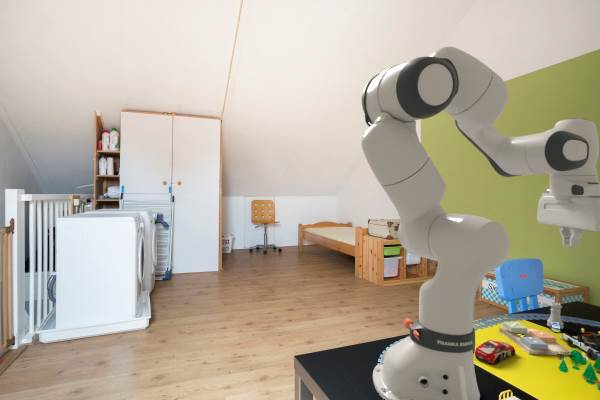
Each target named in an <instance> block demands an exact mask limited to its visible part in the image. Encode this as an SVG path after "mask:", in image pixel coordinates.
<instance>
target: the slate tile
mask: <svg viewBox="0 0 600 400" xmlns="http://www.w3.org/2000/svg"><path fill="white" fill-rule="evenodd" d="M520 342H522V343H523V344H525V345H526V346H527V347H529V348H530V349H546V350H548V344H547V343H545V342H543V341H542V340H540V339H539V338H537V337H520Z"/></svg>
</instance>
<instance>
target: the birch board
mask: <svg viewBox="0 0 600 400" xmlns="http://www.w3.org/2000/svg"><path fill="white" fill-rule="evenodd" d="M498 331H499V332H500V333H501V334H503V335H504V336H505V337H506V338H508V339H509V340H510V341H511V342H513V343H515V344H516V345H517V346H518V347H520V348H521V349H522V350H523V351H524V352H527V354H529V355H549V356H550V355H551V356H558V355H557V354H558V352H560V351H562V352H563V353H564V355H563V356H568V355H569V353H570V352H572V351H571V350H569V349H568V348H567V347H564V346H563V345H561V344H560V343H558V342H557V341H556V343H547V342H545V343H547V344H548V350H546V349H530V348H529V347H527V346H526V345H525V344H523V343H522V342H520V337H518V336H517V334H524V335H525V336H526V337H531V336H530V335H529V331H539V330H538V329H535V328H527V333H515V332H510V331H509V330H507V329H506V328H505V327H499V329H498Z"/></svg>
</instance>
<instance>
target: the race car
mask: <svg viewBox="0 0 600 400" xmlns="http://www.w3.org/2000/svg"><path fill="white" fill-rule="evenodd" d="M515 354H516V348H515V347H514V346H513V345H511V344H510V343H507V342H504V341H499V340H493V339H489V340H487V341H484V342H483V343H481V344H480V345H477V346H476V347H475V353H474V357H475V358H477V359H479V360H481V361H484V362H486V363H488V364H496V365H497V364H499V362H502V361H504V360H506V359H509V358H511V357H515Z"/></svg>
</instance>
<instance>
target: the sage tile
mask: <svg viewBox="0 0 600 400" xmlns="http://www.w3.org/2000/svg"><path fill="white" fill-rule="evenodd" d="M502 328H506V329H507V330H509V331H510V332H515V333H527V329H528V327H526V326H524V325H523V324H521V323H520V322H519V321H518V322H517V321H502Z"/></svg>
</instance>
